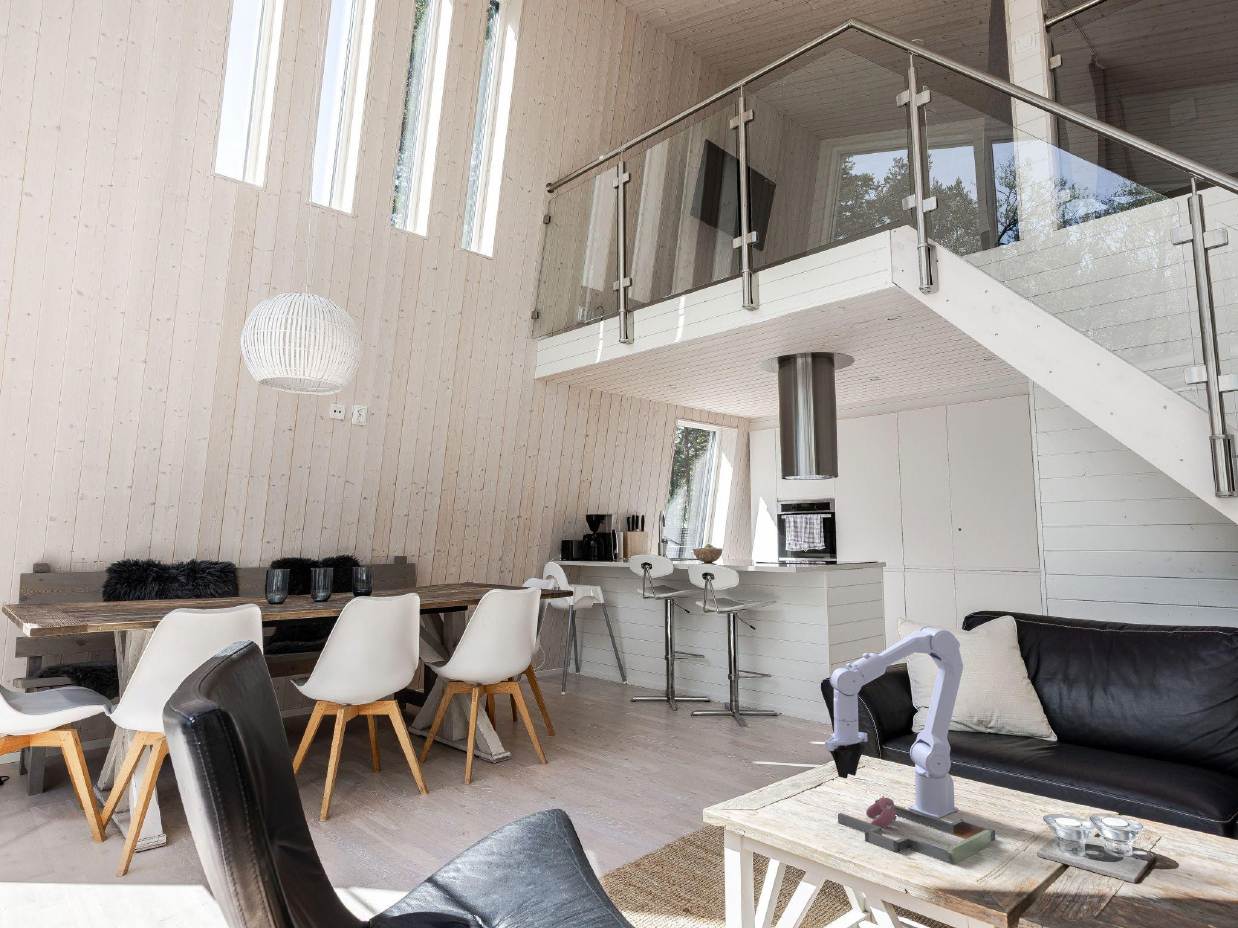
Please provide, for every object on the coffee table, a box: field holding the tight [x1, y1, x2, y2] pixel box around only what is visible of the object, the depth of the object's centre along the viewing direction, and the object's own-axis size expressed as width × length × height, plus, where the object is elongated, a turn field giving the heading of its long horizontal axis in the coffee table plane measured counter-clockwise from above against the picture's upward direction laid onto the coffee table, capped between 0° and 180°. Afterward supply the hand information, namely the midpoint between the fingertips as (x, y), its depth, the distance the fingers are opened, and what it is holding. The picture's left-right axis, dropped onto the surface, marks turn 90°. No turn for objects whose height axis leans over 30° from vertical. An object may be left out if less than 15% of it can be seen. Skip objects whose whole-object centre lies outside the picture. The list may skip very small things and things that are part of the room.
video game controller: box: [865, 795, 897, 830], centre depth 178 cm, size 10×5×7 cm, turn 168°
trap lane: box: [837, 799, 996, 865], centre depth 172 cm, size 24×28×3 cm
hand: (847, 775), depth 186 cm, fingers open, 3 cm apart
